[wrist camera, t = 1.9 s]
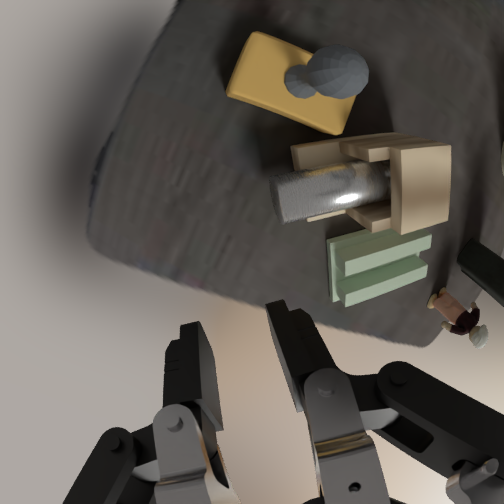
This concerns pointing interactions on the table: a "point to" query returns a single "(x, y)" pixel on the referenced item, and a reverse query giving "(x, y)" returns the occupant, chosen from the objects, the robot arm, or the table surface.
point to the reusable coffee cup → (502, 159)
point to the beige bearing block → (402, 178)
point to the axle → (329, 188)
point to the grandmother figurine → (459, 317)
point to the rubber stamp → (299, 81)
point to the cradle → (374, 263)
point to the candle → (483, 268)
